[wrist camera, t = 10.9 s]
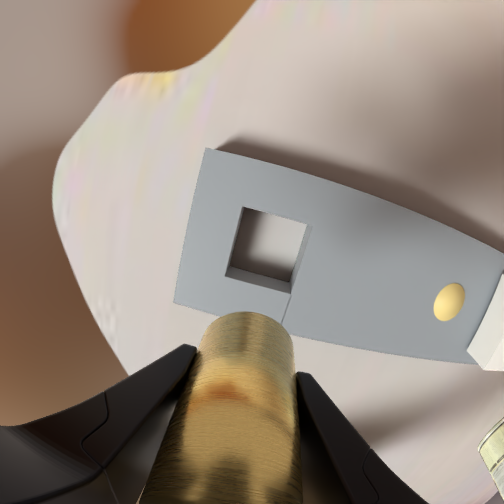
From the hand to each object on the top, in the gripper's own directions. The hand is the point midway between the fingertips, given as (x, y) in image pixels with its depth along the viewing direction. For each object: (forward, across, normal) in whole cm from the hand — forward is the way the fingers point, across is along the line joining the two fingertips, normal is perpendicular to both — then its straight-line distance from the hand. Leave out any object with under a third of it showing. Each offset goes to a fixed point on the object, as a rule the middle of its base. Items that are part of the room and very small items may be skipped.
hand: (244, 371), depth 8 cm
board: (+12, -11, -1) cm, 16 cm away
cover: (+9, -22, -1) cm, 24 cm away
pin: (+1, 0, 0) cm, 1 cm away
